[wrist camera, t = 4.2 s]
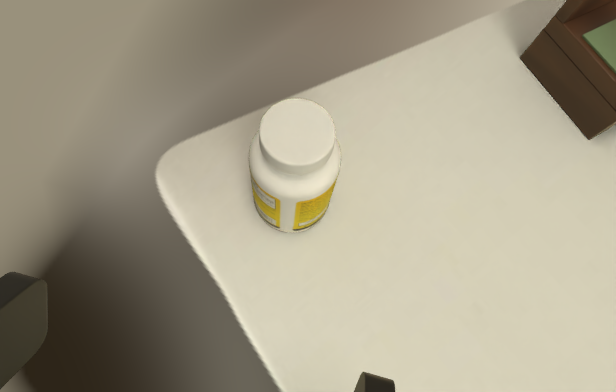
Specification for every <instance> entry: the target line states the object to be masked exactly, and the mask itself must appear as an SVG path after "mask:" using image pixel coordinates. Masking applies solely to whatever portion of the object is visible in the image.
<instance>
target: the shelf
mask: <svg viewBox="0 0 616 392" xmlns="http://www.w3.org/2000/svg"><path fill="white" fill-rule="evenodd" d="M520 58H521V60H522V61H523V62H524V63H525V64H526V66H527V67H528V68H529V69H530V70H531V71H532V73H533V74H534V75H535V76H536V77H537V79H538V80H539V81H540V82H541V83H542V85H543V86H544V87H545V88H546V89H547V91H548V92H549V93H550V94H551V95H552V96H553V98H554V99H555V100H556V101H557V102H558V104H559V105H560V106H561V107H562V108H563V110H564V111H565V112H566V113H567V114H568V116H569V117H570V118H571V119H572V120H573V121H574V123H575V124H576V125H577V126H578V127H579V129H580V130H581V131H582V132H583V133H584V135H585V136H586V137H587V138H588V139H589V140H590V139H592V138H593V137H595V136H597V135H599V134H601V133H602V132H604V131H606V130H607V129H609V128H610V127H612V126H613V125H615V124H616V0H567V1H566V2H565V3H564V5H563V6H562V7H561V8H560V9H559V11H558V12H557V13H556V14H555V16H554V17H553V18H552V19H551V21H550V22H549V23H548V24H547V25H546V27H545V28H544V29H543V30H542V31H541V33H540V34H539V35H538V36H537V38H536V39H535V40H534V41H533V42H532V44H531V45H530V46H529V47H528V49H527V50H526V51H525V52H524V53H523V55H522V56H521V57H520Z"/></svg>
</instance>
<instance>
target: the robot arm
mask: <svg viewBox="0 0 616 392" xmlns="http://www.w3.org/2000/svg"><path fill="white" fill-rule="evenodd" d="M47 305H48V302H47V284H46V282H45V281H44V280H41V279H38V278H34V277H30V276H27V275H23V274H20V273H16V272H10V273H7V274H5V275H4V276H3V277H1V278H0V389H1V388H2V387H3V386H4V385H5V384H6V383H7V382H8V381H9V380H10V379H11V378H12V377H13V376H14V375H15V374H16V373H17V372H18V371H19V370H20V369H21V368H22V367H23V366H24V365H25V364H26V363H27V362H28V361H29V360H30V359H31V357H33V356H34V355H35V353H36V352H37V351H38V350H39V348H40V347H41V345H42V343H43V342H44V340H45V337H46V334H47V330H48V309H47V308H48V307H47ZM354 392H395V384H394V381H393V380H391V379H387V378H384V377H380V376H376V375H373V374H369V373H366V372H362V374H361V375H360V378H359V380H358V383H357V385H356V388H355V390H354Z"/></svg>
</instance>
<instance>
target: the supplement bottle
mask: <svg viewBox="0 0 616 392" xmlns="http://www.w3.org/2000/svg"><path fill="white" fill-rule="evenodd" d="M340 165H341V151H340V147H339V144H338V141H337V139H336V129H335V125H334V122H333V119H332V117H331V116H330V114H329V113H328V112H327V111H326V110H325V109H324V108H323V107H322V106H320V105H319V104H317V103H315V102H313V101H310V100H307V99H301V98H291V99H286V100H282V101H280V102H278V103H276V104H274V105H273V106H271V107H270V108H269V109H268V110H267V111H266V113H265V114H264V116H263V117H262V120H261V122H260V126H259V130H258V131H257V133H256V134H255V136H254V138H253V140H252V142H251V145H250V149H249V168H250V175H251V182H252V189H253V197H254V203H255V206H256V209H257V211H258V213H259V215H260V216H261V218H262V219H263V220H264V221H265V222H266V223H267V224H268V225H270V226H271V227H273V228H275V229H277V230H280V231H283V232H300V231H304V230H307V229H309V228H311V227H313V226H314V225H315V224H317V223H318V222H319V221H320V220H321V218H322V217H323V216H324V214H325V212H326V210H327V208H328V205H329V202H330V198H331V195H332V192H333V189H334V186H335V183H336V180H337V177H338V174H339V170H340Z"/></svg>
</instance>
